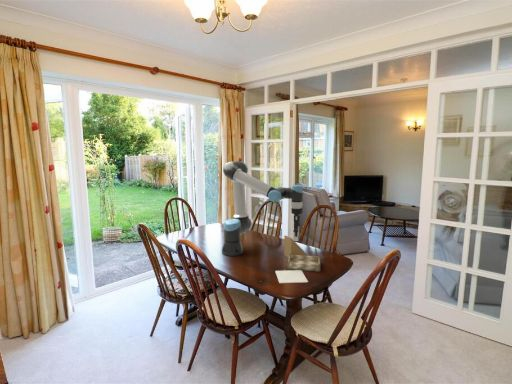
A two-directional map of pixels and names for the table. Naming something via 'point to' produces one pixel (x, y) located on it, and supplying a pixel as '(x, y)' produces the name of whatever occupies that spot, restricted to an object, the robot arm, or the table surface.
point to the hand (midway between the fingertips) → (296, 238)
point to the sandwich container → (292, 247)
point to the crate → (303, 263)
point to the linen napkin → (291, 276)
